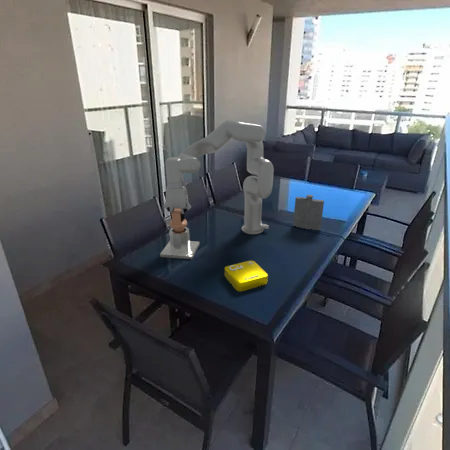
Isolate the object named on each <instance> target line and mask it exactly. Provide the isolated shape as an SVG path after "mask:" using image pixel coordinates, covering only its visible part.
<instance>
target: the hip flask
mask: <svg viewBox="0 0 450 450" xmlns="http://www.w3.org/2000/svg"><path fill="white" fill-rule="evenodd" d="M324 205H325V200H323V199H317V198H316V199H314V195H313V194H306V196H305V197H303V196H296V197H295V200H294V211H293V223H292V226H293V227H295V226H296V227H297V228H299V227H300V228H299V229H304V228H305V230H310V229H312V230H313V231H321V228H322V221H323V220H322V219H323V213H324ZM296 227H295V228H296Z"/></svg>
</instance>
